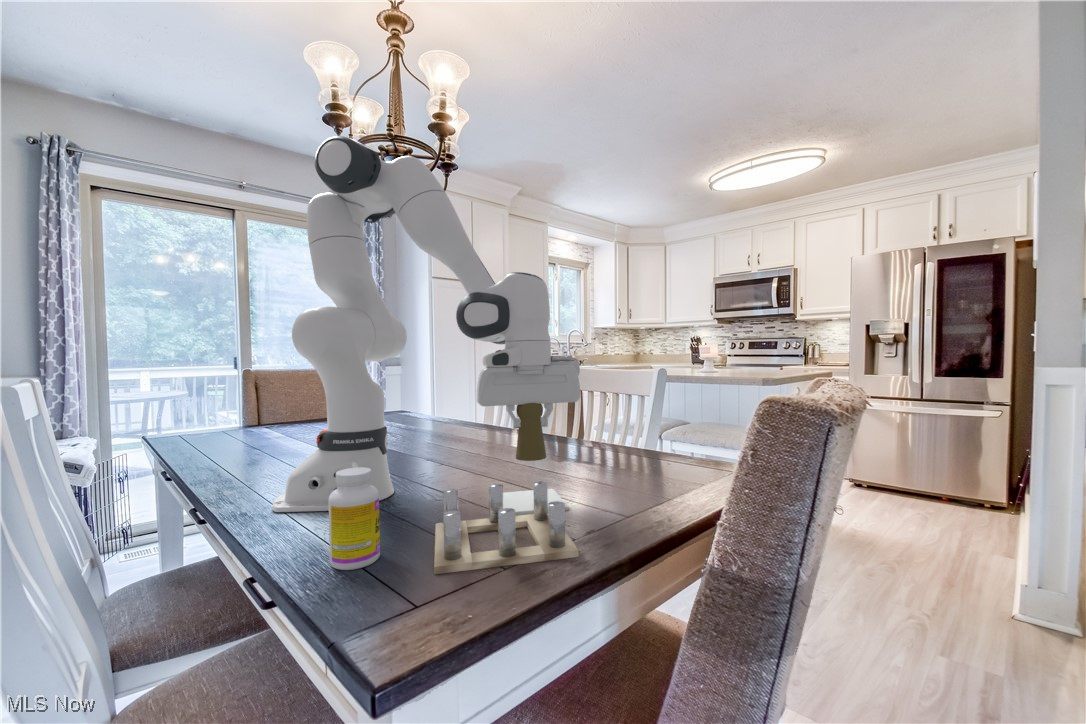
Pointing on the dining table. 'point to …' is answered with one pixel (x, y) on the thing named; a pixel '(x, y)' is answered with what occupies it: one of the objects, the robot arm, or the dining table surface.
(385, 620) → the dining table surface
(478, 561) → the board
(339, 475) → the supplement bottle
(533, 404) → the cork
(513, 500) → the mat
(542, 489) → the steel spacers
